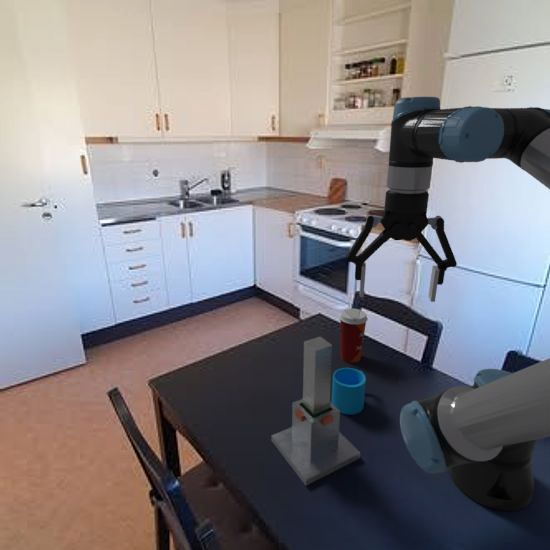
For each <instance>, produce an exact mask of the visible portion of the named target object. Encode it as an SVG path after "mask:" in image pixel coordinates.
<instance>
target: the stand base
mask: <svg viewBox="0 0 550 550" xmlns="http://www.w3.org/2000/svg"><path fill="white" fill-rule="evenodd" d="M330 403H331V405H330V408H329V412H327V413H324V414H322V415H320V416H317V417H315V418H312V417H311V416H310V415H309V414H308V413H307V412H306V411H305V410H304V409H303V404H302V398H300V399H298V400H295V401H293V402H292V404H291V405H292V409H291V410H292V411H291V412H292V413H291V414H292V416H291V420H292V421H291V422H292V423H291V427H288V428H287V429H284V430H282V431H281V430H280V431H279V432H277V433H274V434H272V435H271V438H270V439H271V443H272V444H273V445H274V446H275V448H277V450H278V452H279V453H280V454H281V455H282V457H283V458H284V460H285V461H286V462H287V463H288V465H289V466H290V467H291V468H292V470H293V471H294V472H295V474H296V475H297V477H298V478H299V479H300V481H302V483H303V484H304V486H306V487H307V486H309V485H310V484H313V483H314V482H316V481H319V480H321V479H322V478H324V477H326V476H329V475H330V474H332V473H334V472H335V471H338V470H339V469H342V468H344V467H345V466H348V465H350V464H351V463H354V462H355V461H358V460H360V458H361V452H360V451H359V450H358V449H357V448H356V447H355V446H354V444H353V443H351V442H350V441H349V440H348V439H347V438H346V436H344V435H343V434H342V433H341V432H340V422H341V421H340V420H341V419H340V418H341V413H340V410H339V409H338V408H337V407H335V406H334V405H333V404H332V401H330Z"/></svg>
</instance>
